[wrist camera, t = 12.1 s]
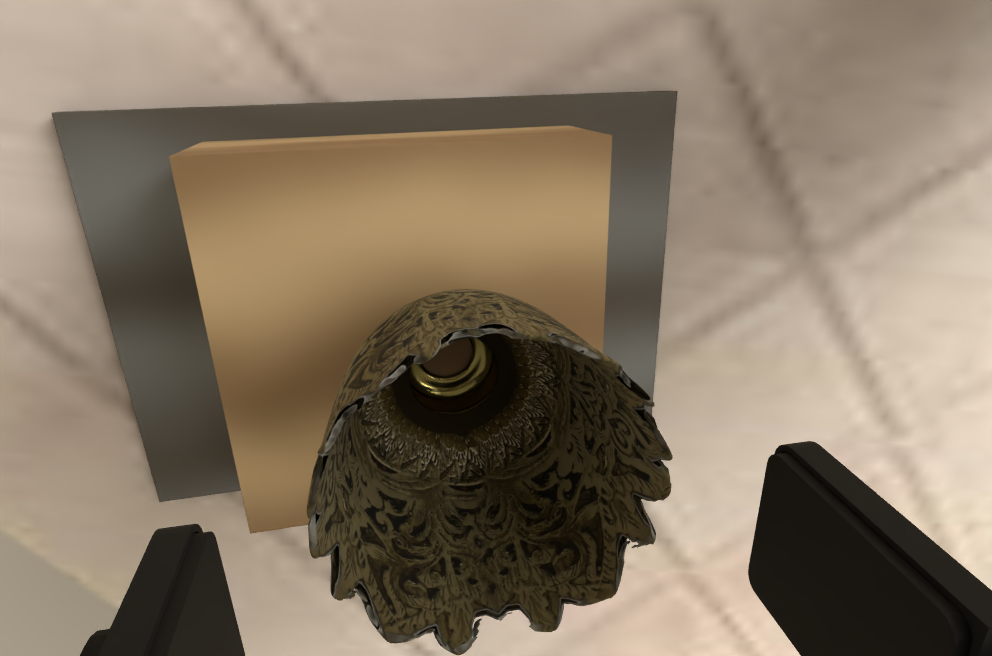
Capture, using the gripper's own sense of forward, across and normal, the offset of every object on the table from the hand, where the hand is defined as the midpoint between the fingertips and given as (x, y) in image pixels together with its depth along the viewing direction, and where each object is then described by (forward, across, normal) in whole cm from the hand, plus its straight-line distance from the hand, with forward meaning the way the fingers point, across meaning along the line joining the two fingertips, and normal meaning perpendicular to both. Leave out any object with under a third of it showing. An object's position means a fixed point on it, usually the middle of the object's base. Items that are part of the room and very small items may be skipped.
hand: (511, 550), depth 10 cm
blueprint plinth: (+14, +1, +1) cm, 14 cm away
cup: (+10, 0, +1) cm, 10 cm away
